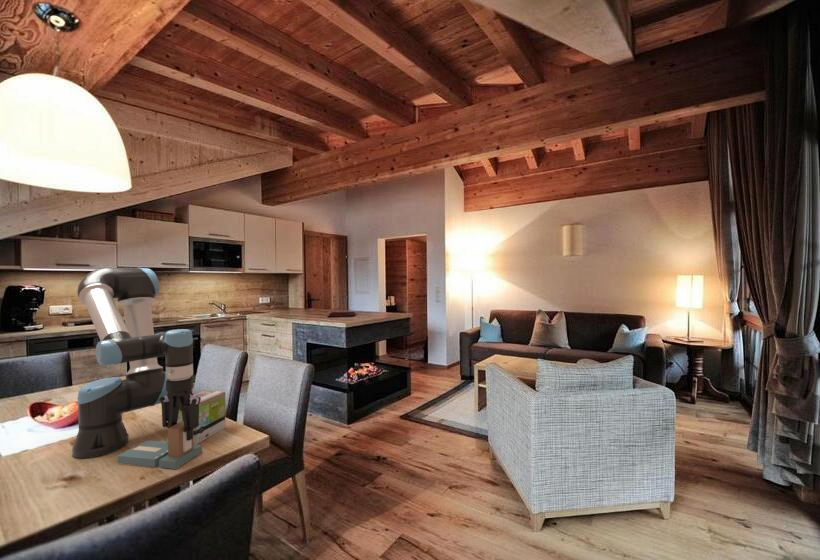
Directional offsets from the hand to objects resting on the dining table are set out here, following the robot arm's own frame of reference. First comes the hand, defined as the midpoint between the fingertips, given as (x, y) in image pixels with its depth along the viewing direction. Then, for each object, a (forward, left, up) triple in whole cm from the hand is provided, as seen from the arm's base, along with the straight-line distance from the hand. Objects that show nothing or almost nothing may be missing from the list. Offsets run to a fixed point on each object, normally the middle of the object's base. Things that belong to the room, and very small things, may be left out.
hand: (181, 448), depth 120 cm
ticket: (-12, 0, -4) cm, 12 cm away
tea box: (-8, +17, -4) cm, 19 cm away
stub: (0, 0, -4) cm, 4 cm away
